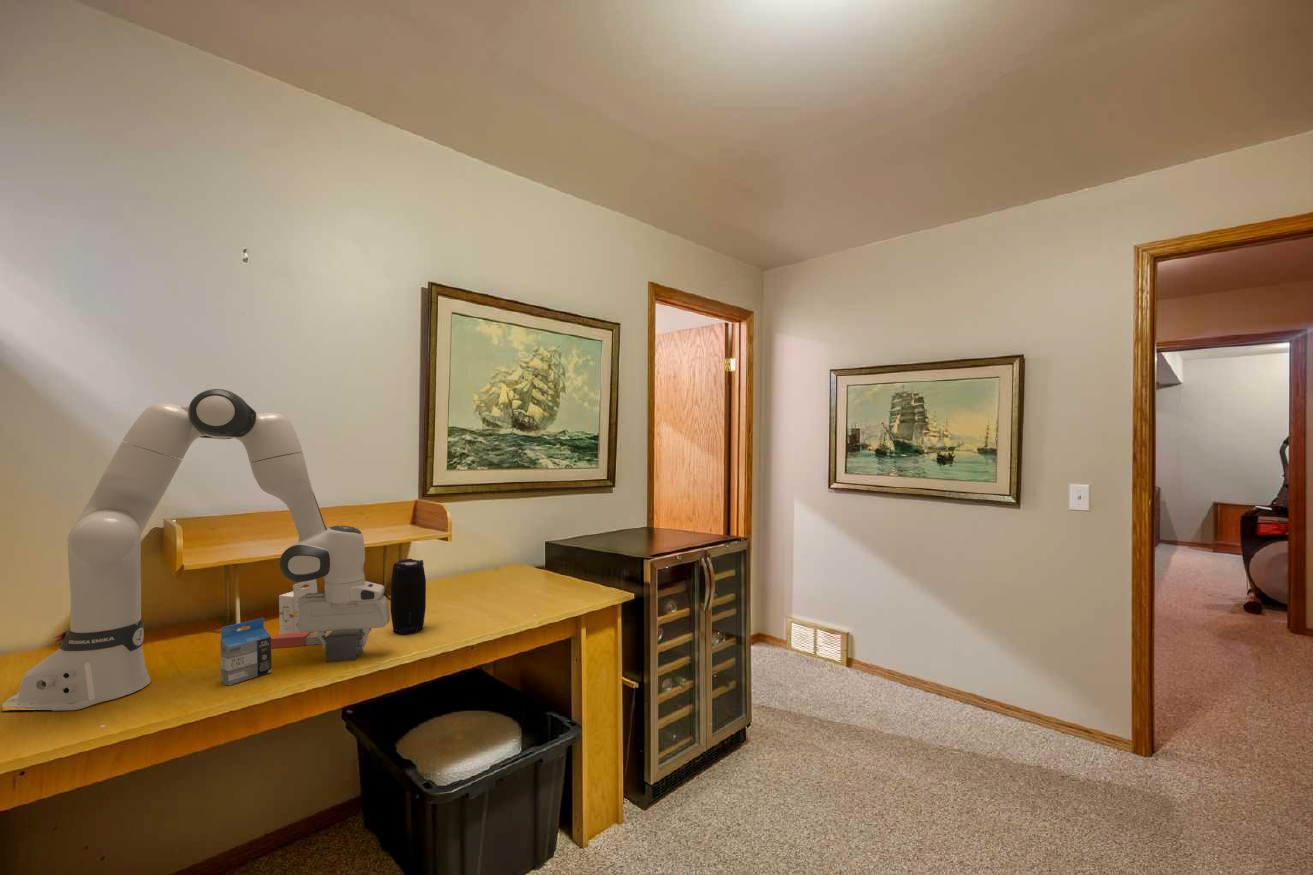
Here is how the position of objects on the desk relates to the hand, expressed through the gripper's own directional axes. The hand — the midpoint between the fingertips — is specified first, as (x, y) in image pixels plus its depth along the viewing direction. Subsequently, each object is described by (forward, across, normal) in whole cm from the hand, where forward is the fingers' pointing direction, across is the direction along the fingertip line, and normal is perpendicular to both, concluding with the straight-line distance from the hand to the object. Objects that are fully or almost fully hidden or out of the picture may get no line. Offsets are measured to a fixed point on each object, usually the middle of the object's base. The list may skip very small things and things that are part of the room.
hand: (344, 646), depth 145 cm
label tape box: (+3, -18, -9) cm, 20 cm away
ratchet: (+2, -9, +12) cm, 15 cm away
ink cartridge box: (+3, -17, +21) cm, 27 cm away
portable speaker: (+2, +12, +17) cm, 21 cm away
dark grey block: (+2, 0, 0) cm, 2 cm away
